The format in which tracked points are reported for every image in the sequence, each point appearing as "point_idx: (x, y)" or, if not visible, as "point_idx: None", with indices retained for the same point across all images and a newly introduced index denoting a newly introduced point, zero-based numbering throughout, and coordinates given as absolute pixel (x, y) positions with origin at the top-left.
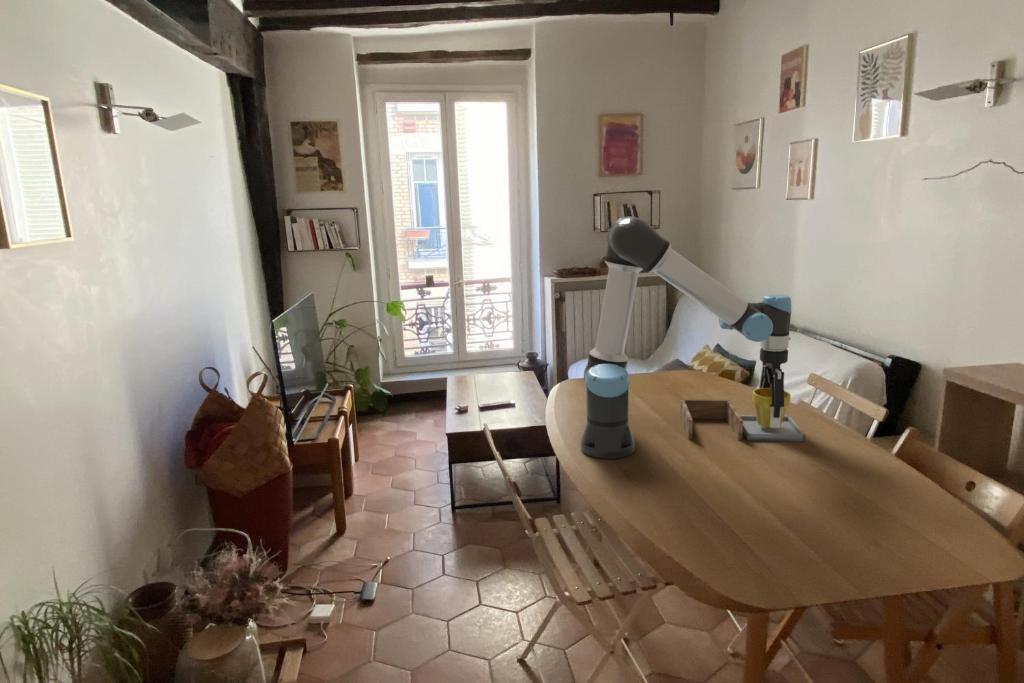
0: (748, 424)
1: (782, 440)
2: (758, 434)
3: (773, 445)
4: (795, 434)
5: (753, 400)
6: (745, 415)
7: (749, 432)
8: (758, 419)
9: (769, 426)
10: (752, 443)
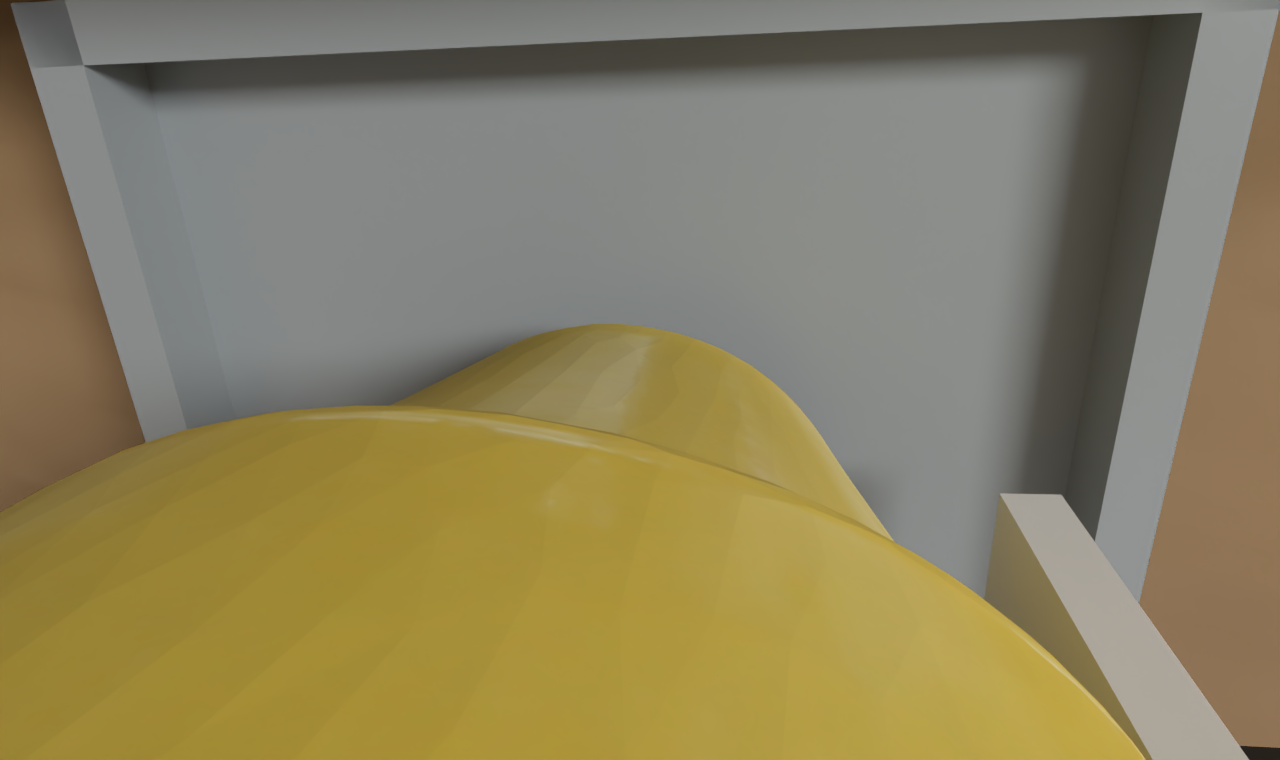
0: (821, 160)
1: None
2: (85, 212)
3: (47, 372)
4: None
5: (182, 475)
6: (1222, 169)
7: (88, 42)
8: (492, 357)
9: None
10: (6, 64)
